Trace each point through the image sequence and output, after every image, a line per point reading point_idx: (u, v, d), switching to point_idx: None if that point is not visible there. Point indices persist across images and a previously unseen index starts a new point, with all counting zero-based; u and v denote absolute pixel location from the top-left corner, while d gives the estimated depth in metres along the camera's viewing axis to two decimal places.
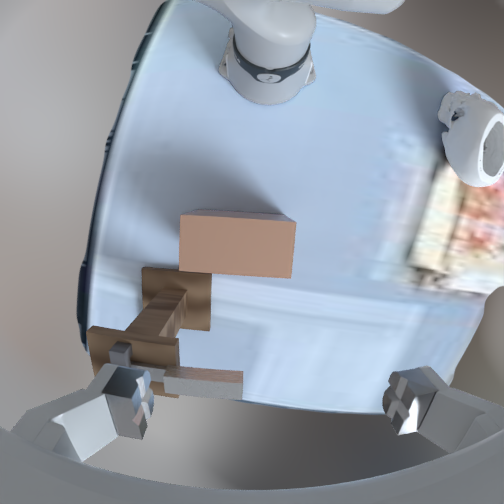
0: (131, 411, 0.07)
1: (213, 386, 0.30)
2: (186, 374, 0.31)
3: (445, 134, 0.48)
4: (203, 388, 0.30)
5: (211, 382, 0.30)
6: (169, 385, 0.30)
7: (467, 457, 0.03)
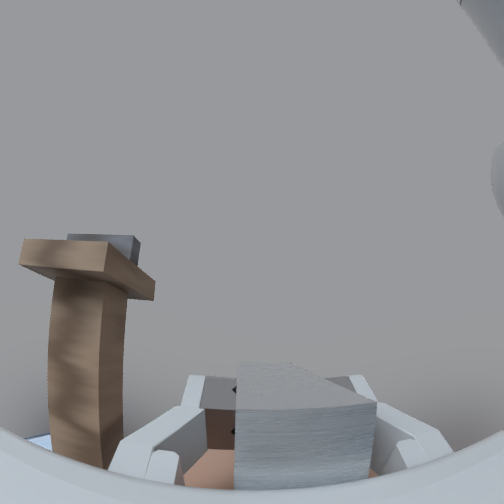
0: (232, 423, 0.07)
1: (301, 381, 0.07)
2: None
3: None
4: (280, 375, 0.09)
5: (316, 378, 0.08)
6: (265, 363, 0.12)
7: (467, 457, 0.03)
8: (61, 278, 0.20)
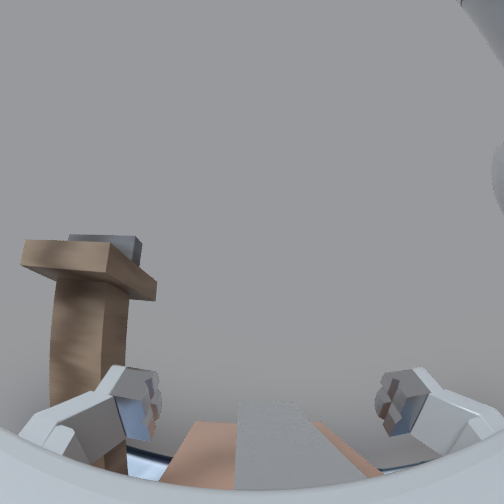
0: (141, 413, 0.07)
1: (299, 437, 0.07)
2: None
3: None
4: (279, 427, 0.08)
5: (314, 433, 0.07)
6: (266, 404, 0.12)
7: (467, 457, 0.03)
8: (63, 279, 0.20)
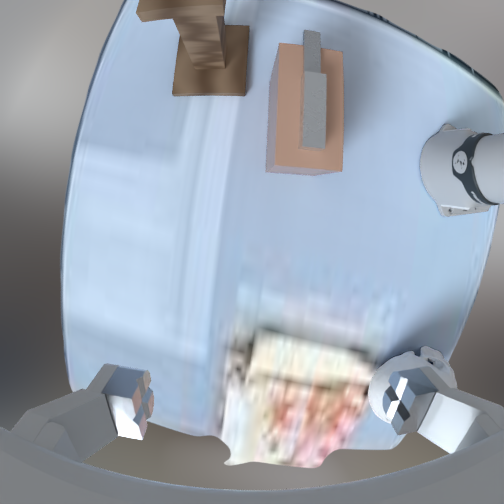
0: (131, 412, 0.07)
1: (319, 119, 0.29)
2: None
3: (413, 354, 0.52)
4: (316, 109, 0.29)
5: (324, 117, 0.29)
6: (315, 77, 0.28)
7: (467, 457, 0.03)
8: None
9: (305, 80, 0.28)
